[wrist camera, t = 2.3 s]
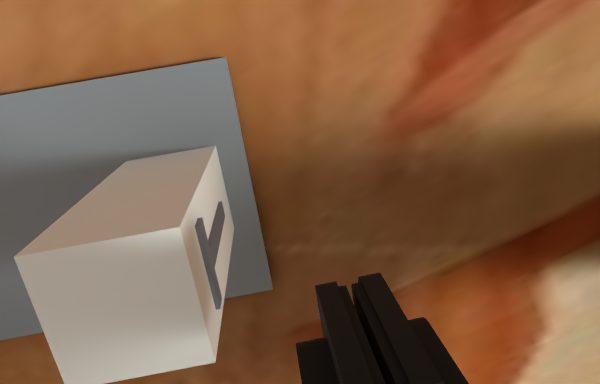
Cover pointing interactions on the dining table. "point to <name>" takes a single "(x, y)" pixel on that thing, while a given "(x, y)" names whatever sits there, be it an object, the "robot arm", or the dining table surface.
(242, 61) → the dining table surface
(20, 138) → the mat
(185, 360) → the letter block
